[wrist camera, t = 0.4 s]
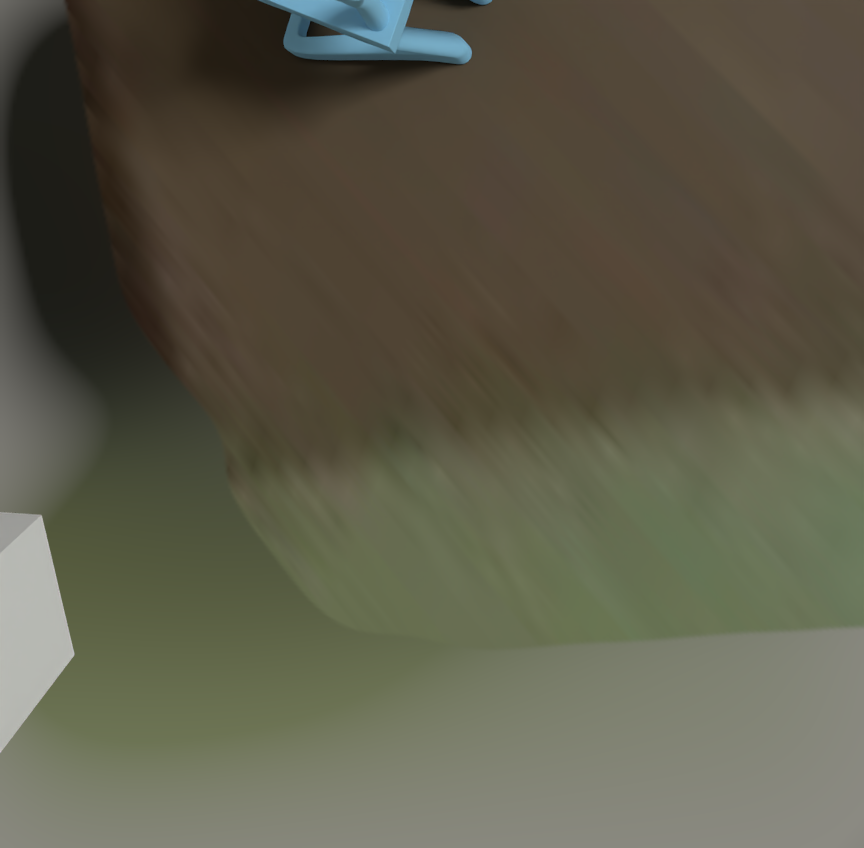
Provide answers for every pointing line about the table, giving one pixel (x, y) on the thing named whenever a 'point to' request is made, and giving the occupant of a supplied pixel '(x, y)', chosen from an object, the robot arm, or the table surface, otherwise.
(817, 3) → the table surface
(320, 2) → the chair
